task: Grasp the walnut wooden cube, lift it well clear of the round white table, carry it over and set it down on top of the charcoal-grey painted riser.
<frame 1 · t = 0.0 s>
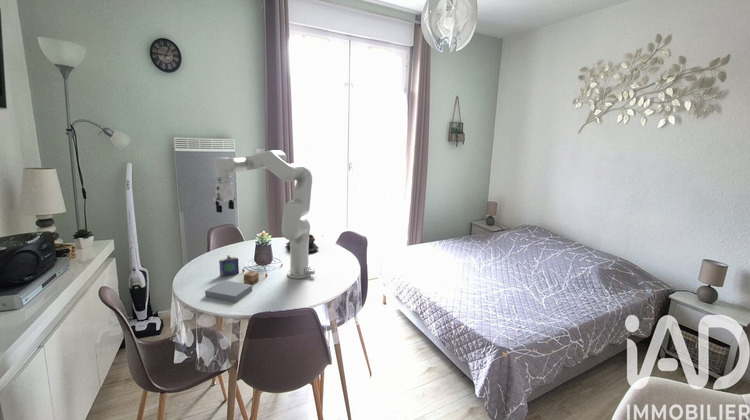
hand: (225, 210, 179), 31 cm above the table, fingers open, 9 cm apart
walnut cube: (251, 282, 163), on the table
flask: (229, 275, 171), on the table
casserole: (302, 248, 217), on the table
riser: (229, 293, 150), on the table
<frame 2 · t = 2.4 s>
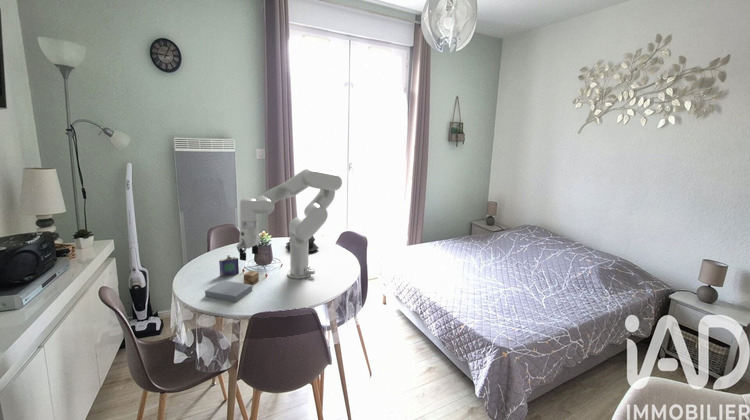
hand: (249, 257, 160), 14 cm above the table, fingers open, 9 cm apart
nothing on the table moved.
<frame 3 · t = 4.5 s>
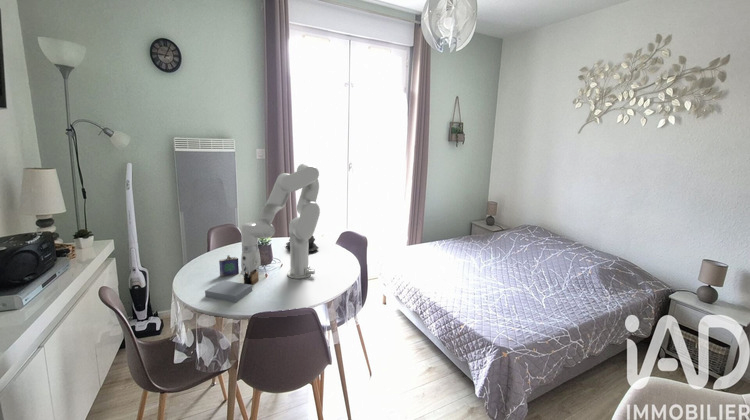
hand: (251, 281, 163), 0 cm above the table, fingers closed on walnut cube, 5 cm apart
walnut cube: (251, 282, 163), on the table, touching gripper
everything else where it was.
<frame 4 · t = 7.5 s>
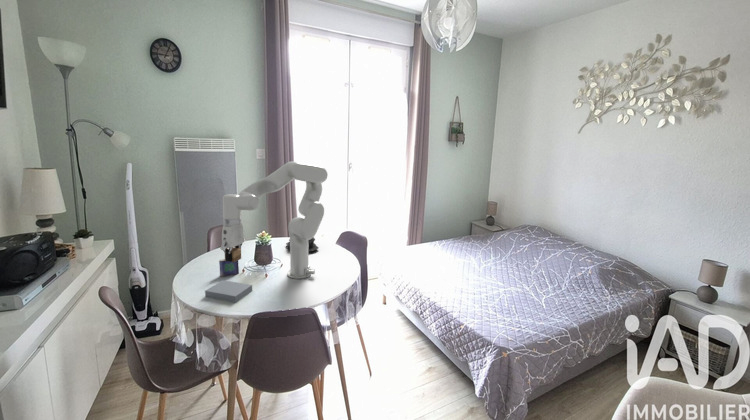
hand: (233, 258, 150), 16 cm above the table, fingers closed on walnut cube, 5 cm apart
walnut cube: (233, 259, 151), point 16 cm above the table, touching gripper
everything else where it was.
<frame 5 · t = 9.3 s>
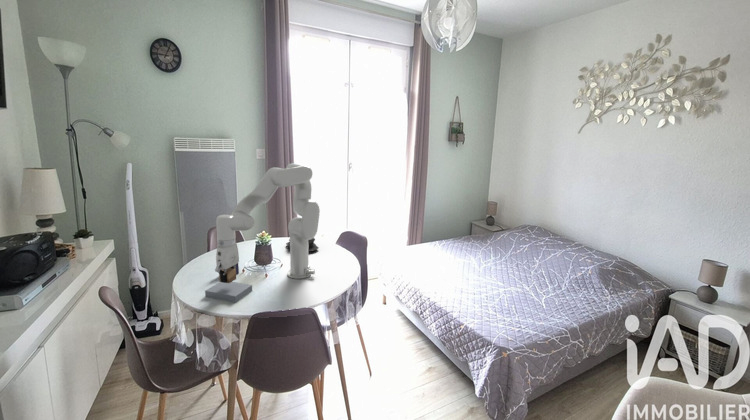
hand: (228, 279, 149), 7 cm above the table, fingers closed on walnut cube, 5 cm apart
walnut cube: (228, 280, 149), point 7 cm above the table, touching gripper
everything else where it was.
when the fingers open (5 cm above the table, at t = 10.6 s): walnut cube drops 1 cm, resting on riser.
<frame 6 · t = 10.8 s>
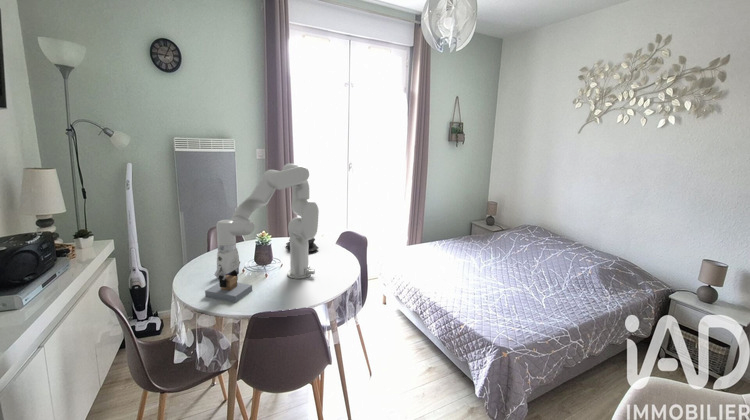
hand: (228, 283, 149), 5 cm above the table, fingers open, 7 cm apart
walnut cube: (229, 287, 150), point 3 cm above the table, touching riser
everything else where it was.
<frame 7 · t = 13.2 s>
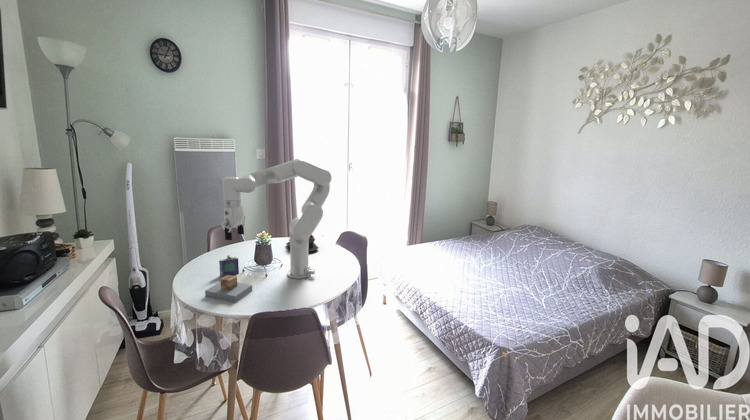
hand: (234, 236, 158), 24 cm above the table, fingers open, 9 cm apart
nothing on the table moved.
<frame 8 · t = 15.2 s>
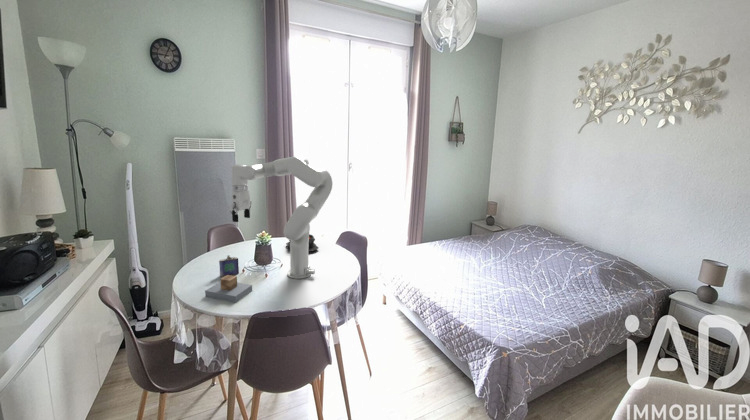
hand: (241, 219, 173), 28 cm above the table, fingers open, 9 cm apart
nothing on the table moved.
at the end: walnut cube inside the target area on the riser (0.1 cm from its centre), point 3.0 cm above the riser's base; walnut cube tilted 0°; the gripper is holding nothing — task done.
